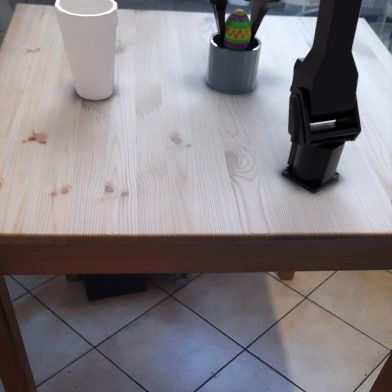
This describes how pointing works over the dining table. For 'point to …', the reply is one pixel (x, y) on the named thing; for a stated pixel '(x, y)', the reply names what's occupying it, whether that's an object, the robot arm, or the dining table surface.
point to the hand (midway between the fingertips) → (235, 41)
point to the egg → (237, 31)
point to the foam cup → (89, 44)
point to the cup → (232, 66)
